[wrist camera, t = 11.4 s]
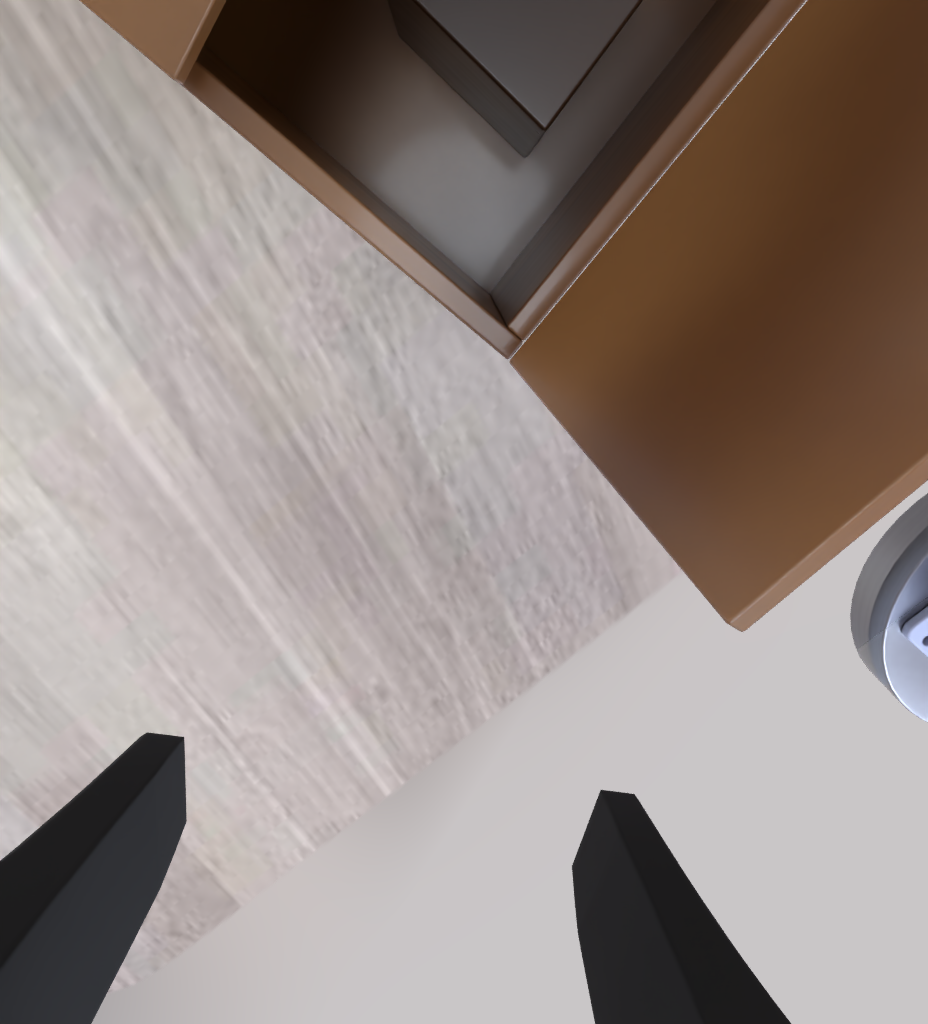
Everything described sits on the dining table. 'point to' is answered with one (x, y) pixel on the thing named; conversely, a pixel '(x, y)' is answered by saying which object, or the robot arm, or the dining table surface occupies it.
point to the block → (512, 53)
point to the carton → (454, 133)
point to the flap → (766, 315)
